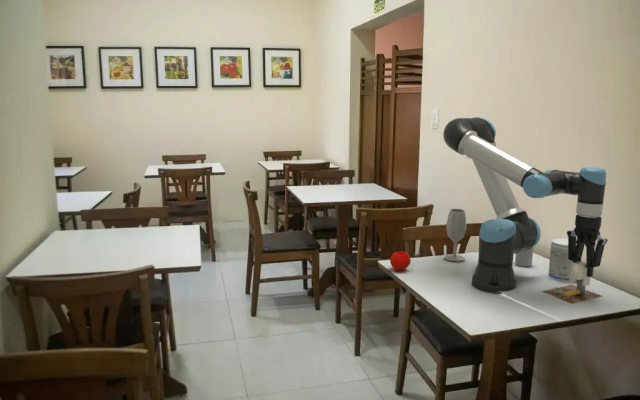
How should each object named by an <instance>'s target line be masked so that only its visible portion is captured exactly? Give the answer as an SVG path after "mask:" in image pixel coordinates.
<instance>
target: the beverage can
mask: <svg viewBox="0 0 640 400" xmlns="http://www.w3.org/2000/svg"><path fill="white" fill-rule="evenodd" d="M533 256H534V247H533V248H531V249H529V250H526V251H522V252H519V253H515V258H514V259H515V260H514V263H515V264H516V265H517V266H519V267H521V268H524V267H525V268H527V267H530V266H532V264H533Z"/></svg>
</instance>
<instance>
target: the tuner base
mask: <svg viewBox="0 0 640 400" xmlns="http://www.w3.org/2000/svg"><path fill="white" fill-rule="evenodd" d="M576 288H577V285H573V284H569V285H565V286H560V287H558V286H557V287H555V288H551V289H547V290H542V291H541V292H542V293H544V294H547V295H549V296H552V297H555V298H557V299H559V300H562V301H564V302H567V303H569V304H572V305H573V304H577V303H581V302H585V301H590V300H594V299H598V298H602V297H603V295H601V294H598V293H596V292H592V291H590V290H587V289H585V295H584V296H581V295H577V294H575V295H571V296H565V295H564V292H567V291H572V290H576Z"/></svg>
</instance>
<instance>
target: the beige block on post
mask: <svg viewBox="0 0 640 400" xmlns="http://www.w3.org/2000/svg"><path fill="white" fill-rule="evenodd" d="M585 266H587V260H581V261H580V262H575V263H573V269H572V279H574V280H577V283H576V287H577V288H576V290H572V291H567V292H564V295H565V296H571V295H575V294H577V295H581V296H584V295H585V290H586V286H582V282H583V273H584V267H585Z"/></svg>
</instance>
